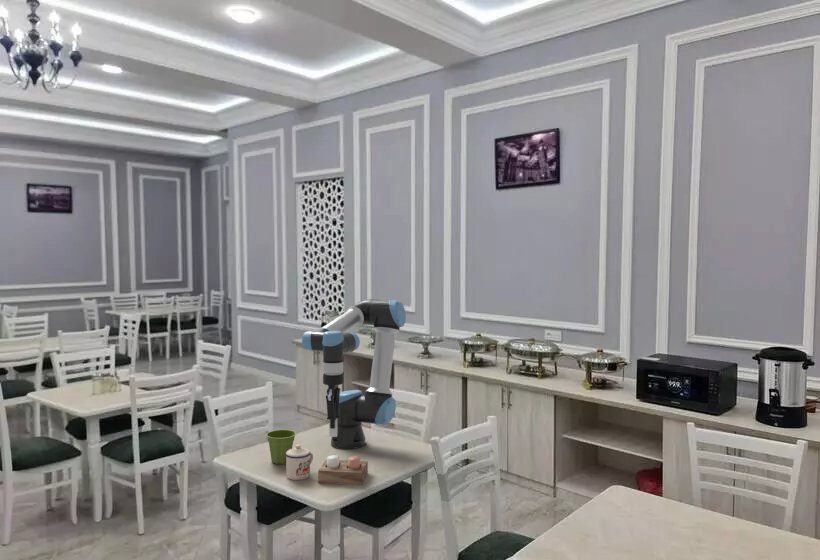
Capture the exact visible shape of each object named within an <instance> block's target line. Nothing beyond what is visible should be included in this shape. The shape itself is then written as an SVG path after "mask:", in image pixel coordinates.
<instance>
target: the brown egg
mask: <svg viewBox="0 0 820 560" xmlns="http://www.w3.org/2000/svg"><path fill="white" fill-rule="evenodd" d="M347 460H348V468H350V469H360V461H361V457H360V456H357V455H356V456H355V455H352V456H349V457H348V458H347Z"/></svg>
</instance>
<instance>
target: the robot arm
mask: <svg viewBox="0 0 820 560" xmlns="http://www.w3.org/2000/svg"><path fill="white" fill-rule="evenodd" d="M405 309H406V308H405V306H404V305H403V303H402V301H399V300H396V299H395V300H394V299H373V298H370V299H364V300H361V301H359V302H355V304H352V305H351V306H349V307H347V308H346V309H345V311H344V313H342V314H341V315H339V316H338V317H336V318H335V319H333V320H331V321H330V322H328V323H326V324H325V325H324V326H322V327H321V328H318V329H316V330H315V331H313V330H309V331H308V330H307V331H305V332H304V333H303V335H302V338H301V344H302V347H303V349H304V350H307V351H311V352H322V363H321V367H322V372H323V374H322V384H323V385H325V386H328V387H327V389H326V396H325V400H326V410H327V411H326V413H327V418H326V419H327V421H328V420H329V421H328V423H329V424H328V425H329V427H328V428H329V429H328V430H329V431H328V433H329V434H328V436H329V437H330V438H331V439H330V445H331V446H332V447H333V448H336V449H341V450H352V449H359V448H362V447H364V446H365V445H366V440H367V439H366V436H365V433H364V430H363V425H362V423H363V424H364V423H365V424H372V425H377V426H378V425H379V426H380V425H383V426H385V425H388V424H390V423H391V421H393V419H394V416H395V412H396V409H397V404H396V399H395V398H393V393H392V392H391V390H390V385H391V377H392V367H393V359H394V351H395V342H396V335H397V334H398V333H399V332H400V328H402V327H404V326H405V324H406V321H407V320H406V319H407V317H406V316H407V315H406V310H405ZM364 325H365V326H367V325H368V326H373V328H372V329H373V330H374V332H375V340H374V349H373V355H372V356H373V357H372V365H371V372H370V373H371V374H370V381H369V387H368V388H367V389H366V390H365V392H364V394H363V392H362V390H359V389H351V390H350V389H349V390H345V391H344V390H343V391H341V388H340V387H339V385H342V384H344V370H345V368H344V355H346V354H349V353H353V352H354V351H356V350H358V348H359V347H360V344H361V343H360V342H361V341H360V337H359V336H358V334H357V333H355V332H351V330H353V329H354V328H358V327H361V326H364ZM349 331H350V332H349Z"/></svg>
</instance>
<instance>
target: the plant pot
mask: <svg viewBox="0 0 820 560" xmlns="http://www.w3.org/2000/svg"><path fill="white" fill-rule="evenodd" d="M296 435H297V432H296V431H294V430H291V429H274V430H271V431H268V432H266V434H265V436H266V437H267V442H268V447H269V452H270V458H271V459H270V460H271V463H273V464H274V463H275V465H278V464H281V465H284V464H286V452H287V451H288V450H290V449H293V445H294V441H295V437H296Z"/></svg>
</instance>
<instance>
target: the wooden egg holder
mask: <svg viewBox="0 0 820 560" xmlns="http://www.w3.org/2000/svg"><path fill="white" fill-rule="evenodd" d="M368 467H369V463H368V460H360V469H350V468H348V459H339V467H338V468H328V467H327V458H326V459H325V461H324V462H323V463H322V464H321V466H320V468H318V472H317V475H318V476H317V484H333V485H335V484H336V485H337V484H338V485H353V486H354V485H355V486H362V485H363V484H364V481H365V479H366V477H367V475H368V471H369V470H368V469H369V468H368Z"/></svg>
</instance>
